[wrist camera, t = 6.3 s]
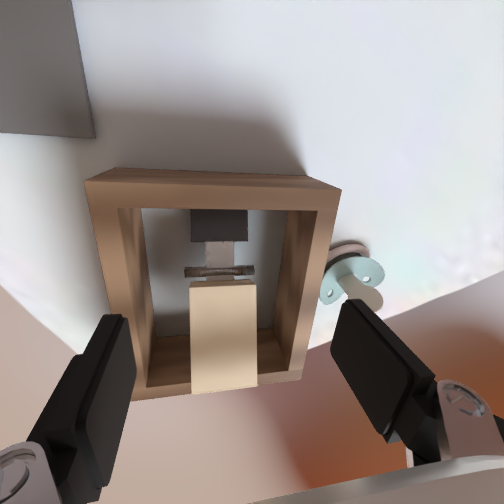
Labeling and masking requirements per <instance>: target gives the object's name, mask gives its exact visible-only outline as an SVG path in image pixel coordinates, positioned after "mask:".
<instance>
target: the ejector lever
mask: <svg viewBox="0 0 504 504" xmlns="http://www.w3.org/2000/svg"><path fill="white" fill-rule="evenodd" d="M190 214H191V242H206V267H185V269H184V274H185V278H191V277H206V281H217V280H234V276H243V275H254V273H255V269H254V265H240V266H234V241H248V211H247V210H243V209H190Z"/></svg>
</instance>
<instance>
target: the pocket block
mask: <svg viewBox="0 0 504 504" xmlns="http://www.w3.org/2000/svg"><path fill="white" fill-rule="evenodd" d="M84 186H85V190H86V195H87V200H88V204H89V209H90V214H91V219H92V223H93V228H94V233H95V238H96V242H97V247H98V252H99V257H100V261H101V266H102V271H103V276H104V280H105V285H106V290H107V295H108V299H109V304H110V309H111V313H112V314H122V316H123V317H127V318H128V322H129V328H130V333H131V339H132V344H133V350H134V356H135V361H136V367H137V375H136V380H135V384H134V388H133V392H132V396H131V400H130V401H138V400H146V399H154V398H161V397H168V396H177V395H185V394H192V390H191V344H190V335H182V336H170V337H158V338H157V337H156V329H155V320H154V312H153V304H152V296H151V288H150V280H149V271H148V263H147V255H146V247H145V239H144V231H143V222H142V214H141V208H174V209H243V210H288V213H287V221H286V228H285V236H284V243H283V251H282V259H281V266H280V274H279V281H278V289H277V297H276V304H275V312H274V319H273V327H272V328H266V329H257V385H262V384H270V383H277V382H286V381H293V380H300V379H301V376H302V371H303V367H304V362H305V357H306V353H307V348H308V343H309V339H310V334H311V330H312V325H313V320H314V316H315V311H316V307H317V302H318V297H319V293H320V288H321V284H322V279H323V274H324V270H325V265H326V261H327V256H328V251H329V247H330V242H331V238H332V233H333V228H334V224H335V219H336V214H337V210H338V205H339V201H340V196H341V191H342V190H341V189H339V188H336V187H334V186H331V185H329V184H327V183H324V182H322V181H319V180H317V179H314V178H312V177H309V176H295V175H273V174H250V173H227V172H204V171H182V170H159V169H136V168H113V169H111V170H108V171H106V172H104V173H101V174H99V175H97V176H94V177H92V178H90V179H87V180H85V181H84Z"/></svg>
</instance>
